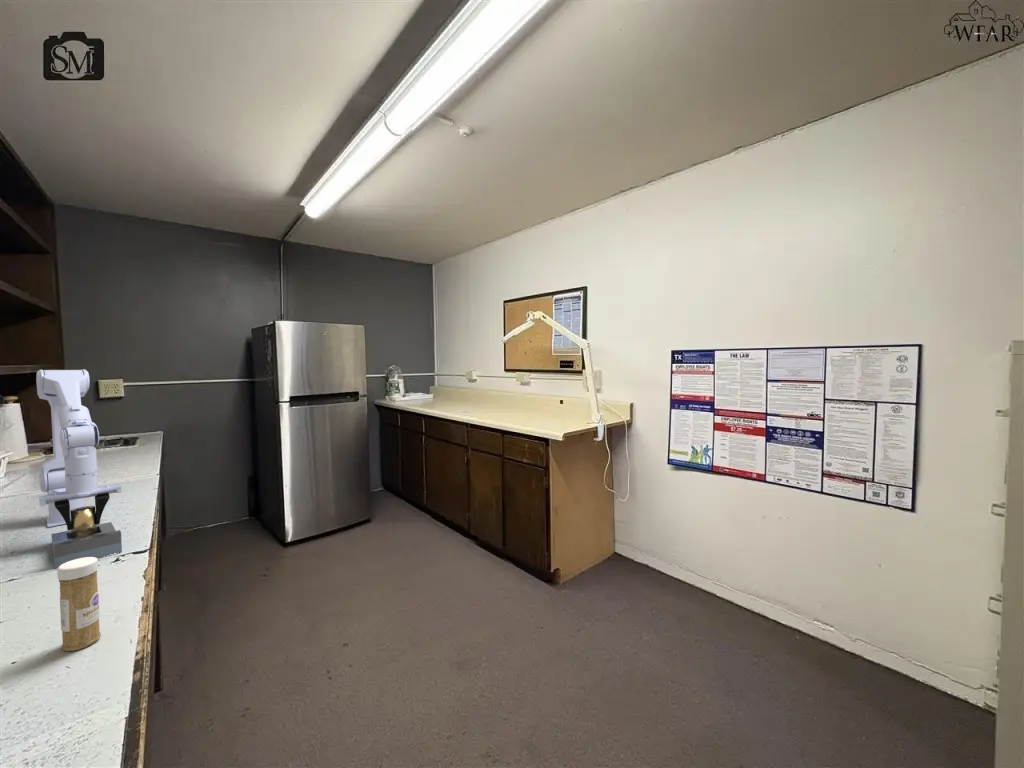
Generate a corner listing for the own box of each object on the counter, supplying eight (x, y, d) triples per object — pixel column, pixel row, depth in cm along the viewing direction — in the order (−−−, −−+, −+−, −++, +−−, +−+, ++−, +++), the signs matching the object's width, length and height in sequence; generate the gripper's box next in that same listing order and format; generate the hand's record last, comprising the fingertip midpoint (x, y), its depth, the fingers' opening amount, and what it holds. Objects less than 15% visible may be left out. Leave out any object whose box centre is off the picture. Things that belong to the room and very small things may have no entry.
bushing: (71, 536, 108) (69, 508, 107) (95, 531, 111) (94, 504, 111) (72, 540, 105) (70, 512, 104) (97, 535, 108) (95, 507, 108)
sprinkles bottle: (97, 645, 68) (93, 563, 68) (56, 656, 66) (52, 571, 65) (104, 630, 72) (100, 553, 71) (66, 640, 69) (62, 560, 69)
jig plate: (51, 543, 107) (51, 524, 107) (111, 531, 115) (110, 512, 115) (54, 569, 94) (53, 546, 94) (121, 552, 102) (121, 532, 102)
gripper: (38, 482, 99) (41, 539, 100) (122, 470, 110) (124, 522, 110) (38, 476, 104) (40, 531, 104) (118, 466, 114) (120, 515, 115)
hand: (83, 526), depth 108 cm, fingers closed on bushing, 4 cm apart
